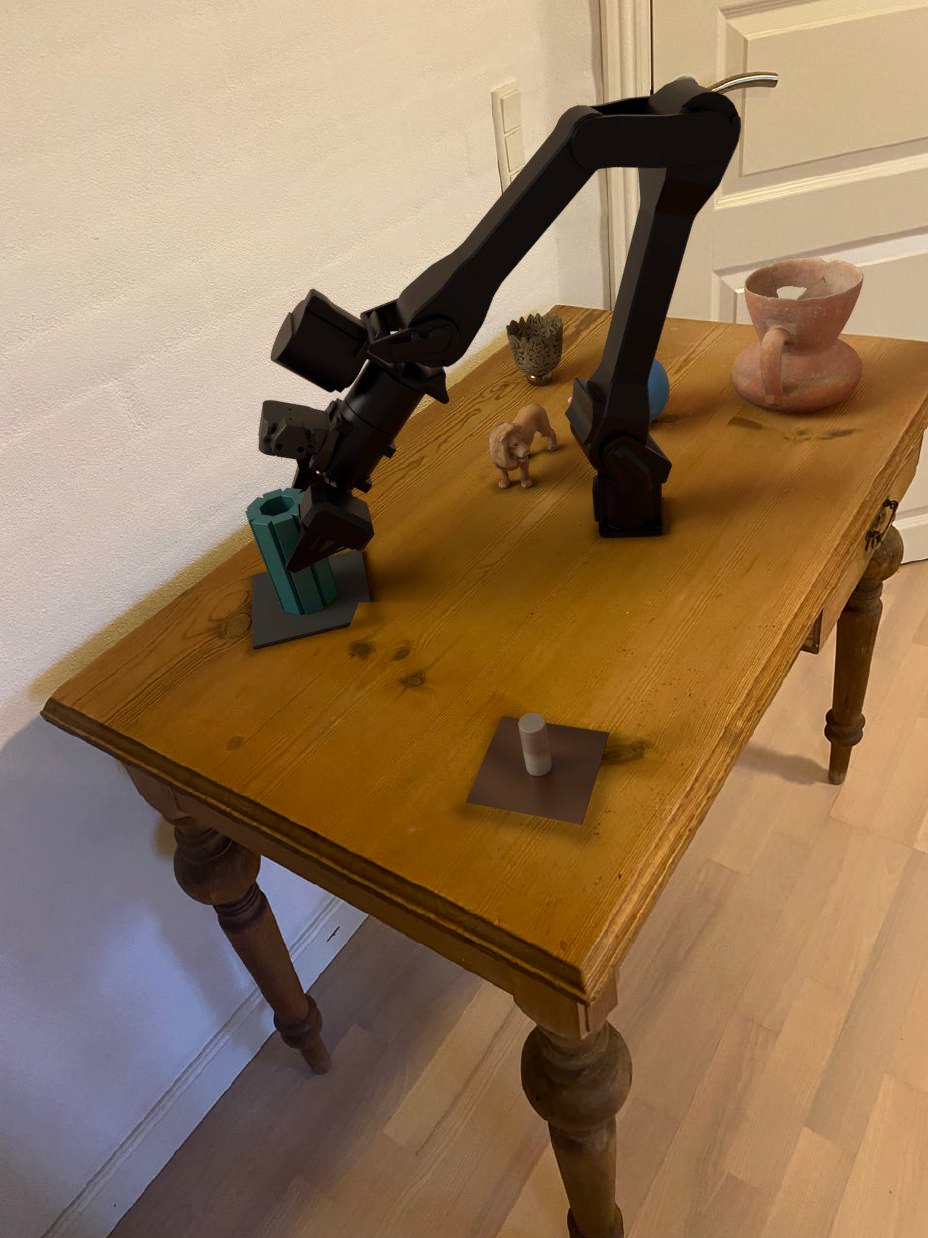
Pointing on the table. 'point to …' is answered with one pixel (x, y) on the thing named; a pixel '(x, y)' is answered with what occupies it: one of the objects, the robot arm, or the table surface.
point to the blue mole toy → (656, 389)
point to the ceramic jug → (799, 336)
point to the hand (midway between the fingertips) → (288, 543)
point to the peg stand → (539, 768)
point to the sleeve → (276, 539)
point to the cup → (536, 346)
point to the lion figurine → (519, 442)
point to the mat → (284, 626)
